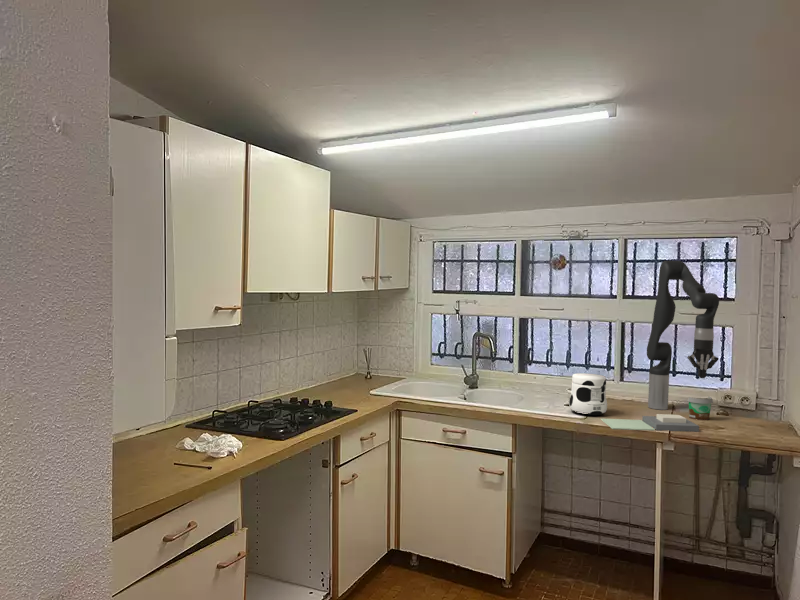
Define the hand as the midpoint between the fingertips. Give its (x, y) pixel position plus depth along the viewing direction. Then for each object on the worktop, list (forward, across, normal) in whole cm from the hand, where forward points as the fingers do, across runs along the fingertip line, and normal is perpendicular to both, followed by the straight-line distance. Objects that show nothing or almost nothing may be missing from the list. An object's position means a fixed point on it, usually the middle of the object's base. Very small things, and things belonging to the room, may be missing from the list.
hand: (702, 377), depth 260 cm
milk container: (+22, +43, -21) cm, 53 cm away
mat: (+22, +32, 0) cm, 38 cm away
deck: (+22, +13, 0) cm, 25 cm away
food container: (+22, -9, -17) cm, 29 cm away
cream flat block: (+18, +12, 0) cm, 22 cm away
